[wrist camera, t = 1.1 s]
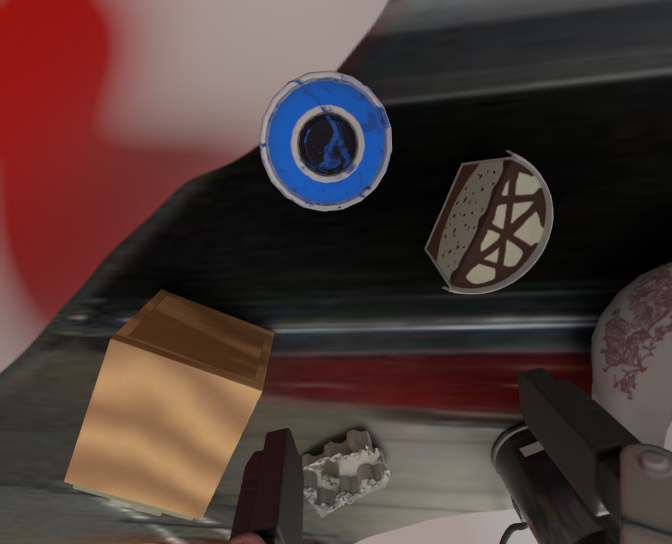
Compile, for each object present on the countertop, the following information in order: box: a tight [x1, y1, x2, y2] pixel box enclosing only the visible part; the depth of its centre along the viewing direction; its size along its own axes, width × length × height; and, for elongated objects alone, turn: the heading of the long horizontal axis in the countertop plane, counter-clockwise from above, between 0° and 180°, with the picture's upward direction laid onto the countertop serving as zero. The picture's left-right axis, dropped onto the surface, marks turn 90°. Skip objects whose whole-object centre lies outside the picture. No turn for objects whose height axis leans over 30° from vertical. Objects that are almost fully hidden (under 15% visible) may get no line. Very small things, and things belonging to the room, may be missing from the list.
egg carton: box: [302, 430, 391, 518], centre depth 47 cm, size 11×8×4 cm
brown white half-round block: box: [424, 150, 553, 294], centre depth 35 cm, size 12×6×10 cm, turn 160°
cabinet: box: [64, 290, 274, 519], centre depth 39 cm, size 16×13×11 cm
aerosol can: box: [259, 71, 392, 211], centre depth 27 cm, size 8×8×20 cm
